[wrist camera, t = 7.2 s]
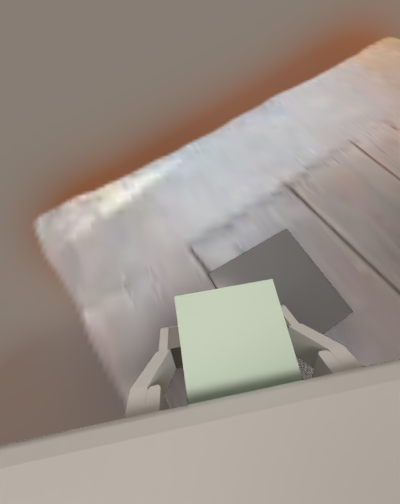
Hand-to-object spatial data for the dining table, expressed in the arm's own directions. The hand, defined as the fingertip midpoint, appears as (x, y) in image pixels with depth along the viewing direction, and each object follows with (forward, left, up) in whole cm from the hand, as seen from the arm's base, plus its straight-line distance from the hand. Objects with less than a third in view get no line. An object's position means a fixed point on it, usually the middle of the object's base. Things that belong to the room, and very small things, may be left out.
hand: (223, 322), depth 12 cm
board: (-11, +2, -17) cm, 20 cm away
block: (0, +1, -4) cm, 4 cm away
